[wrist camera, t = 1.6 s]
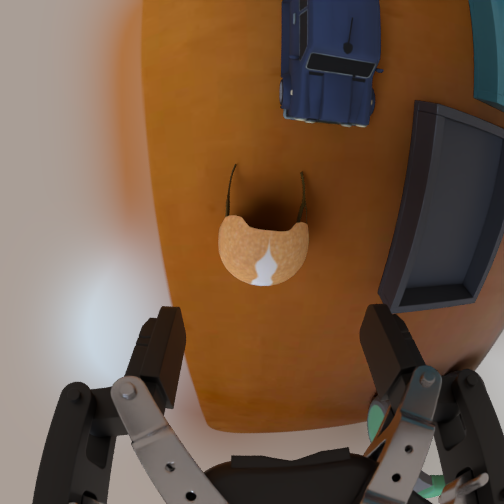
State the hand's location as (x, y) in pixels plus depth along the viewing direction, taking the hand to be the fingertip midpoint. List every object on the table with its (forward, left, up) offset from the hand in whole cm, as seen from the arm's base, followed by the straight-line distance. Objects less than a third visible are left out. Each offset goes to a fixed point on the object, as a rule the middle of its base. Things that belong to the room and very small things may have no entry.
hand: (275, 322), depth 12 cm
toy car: (-13, +4, -11) cm, 18 cm away
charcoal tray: (-1, +17, -11) cm, 20 cm away
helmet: (0, 0, -11) cm, 11 cm away
